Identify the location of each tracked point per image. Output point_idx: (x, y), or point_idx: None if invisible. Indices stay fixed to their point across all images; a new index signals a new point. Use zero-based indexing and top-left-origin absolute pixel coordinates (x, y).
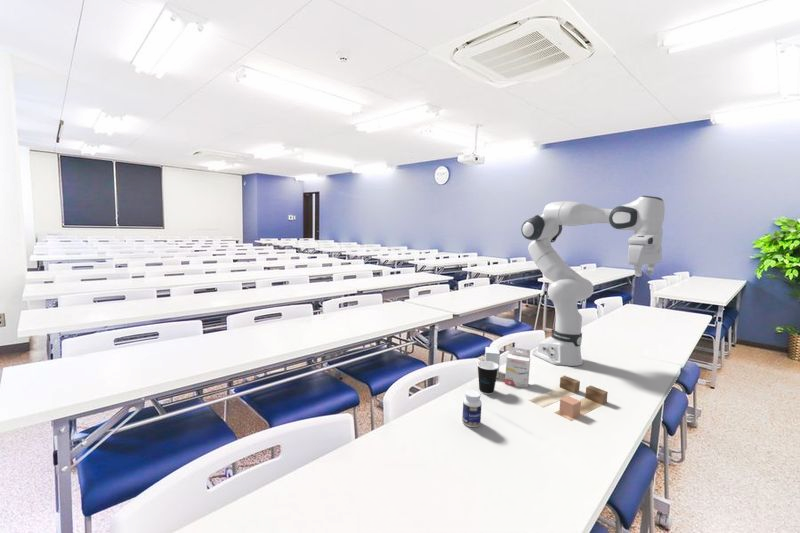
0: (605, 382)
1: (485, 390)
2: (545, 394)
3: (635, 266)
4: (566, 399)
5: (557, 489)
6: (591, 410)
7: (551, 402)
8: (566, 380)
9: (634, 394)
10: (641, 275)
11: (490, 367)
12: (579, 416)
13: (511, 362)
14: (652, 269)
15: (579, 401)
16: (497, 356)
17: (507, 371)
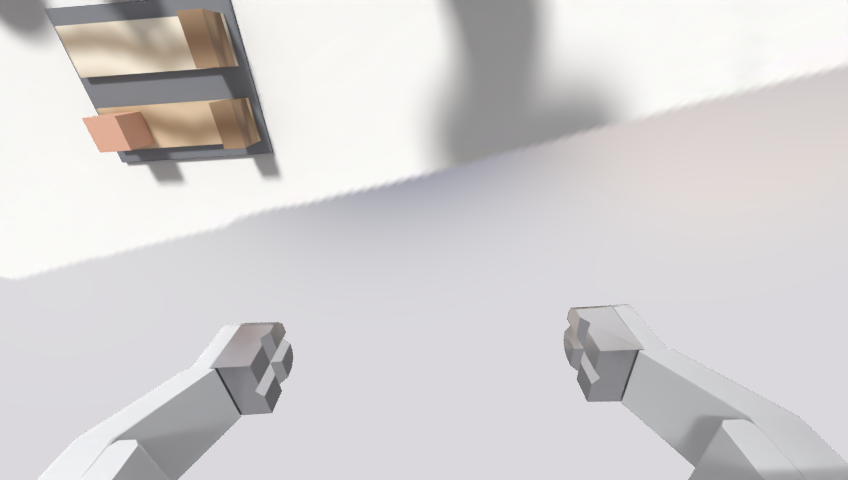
0: (387, 51)
1: None
2: (124, 26)
3: (73, 473)
4: (98, 127)
5: (7, 237)
6: (193, 145)
7: (116, 70)
8: (186, 35)
9: (386, 137)
10: (280, 371)
11: None
12: (147, 148)
13: None
14: (638, 414)
15: (126, 149)
16: None
17: None
